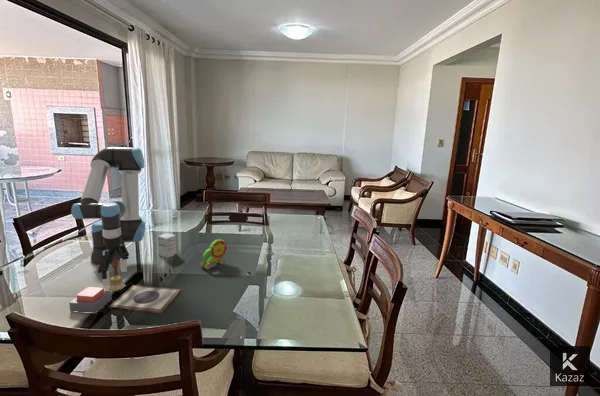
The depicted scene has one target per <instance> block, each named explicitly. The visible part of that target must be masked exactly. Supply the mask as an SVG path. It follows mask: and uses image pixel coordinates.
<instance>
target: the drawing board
mask: <svg viewBox="0 0 600 396" xmlns="http://www.w3.org/2000/svg"><path fill="white" fill-rule="evenodd" d="M181 290H182V289H179V288H169V287H158V286H147V285H139V284H138V285H136V284H132V286H131V287H129V288H128V289H127V290H125V292H124V293H122V294H121V295H120V296H119V297H118V298H116V300H114V301H112V303H111V304H110V305H111V307H119V306H120V307H121V308H122V307H123V308H125V309H129V310H128V311H133V310H134V311H135V312H142V313H144V312H145V313H156V314H163V313H164V312H165V310H166V309H167V308H168V307H169V306H170V304H172V302H173V301H174V299H176V297H177V296H178V295H179V294H180V292H182V291H181ZM168 305H169V306H168Z"/></svg>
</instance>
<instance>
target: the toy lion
mask: <svg viewBox="0 0 600 396" xmlns="http://www.w3.org/2000/svg"><path fill="white" fill-rule="evenodd" d="M227 245H228V244H227V243H226V241H225V240H224V239H220V238H218V239H215V240H214V241H211V243H210V245H209V247H208V248H207V249H206V250H205V251H204V252H203V254H202V256H201V263H200V267H202V268H204V269H205V270H210V269H211V267H212V265H213V264H220V265H225V262H226V258H224V255H225V254H226V252H227V249H228V247H227ZM209 254H210V256H209V258H207V257H208V255H209Z"/></svg>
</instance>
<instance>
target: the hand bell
mask: <svg viewBox="0 0 600 396" xmlns="http://www.w3.org/2000/svg"><path fill="white" fill-rule="evenodd" d="M111 266H112V268H113V276H112V277H110V280H109V281H110V284H109V285H107V287H106V290H107V289H108V290H109V291H118V290H121V289H123V288H124V287H125V286H126V287H127V285H126V284H125V283H124V282H123V280H122V277H121V275H118V274H119V273H118V269H119V261H118V260H117V258H116V257H114V258H113V261H112V264H111ZM123 290H124V289H123ZM121 291H122V290H121ZM118 292H119V291H118Z"/></svg>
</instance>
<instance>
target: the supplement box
mask: <svg viewBox="0 0 600 396" xmlns="http://www.w3.org/2000/svg"><path fill="white" fill-rule="evenodd" d="M157 240H158V241H157V242H158V243H157V244H158V245H157V246H158V255H159V256H161V257H163V258H166V259H168V258H171V257H173V256H176V255H177V235H176V234H173V233H169V232H166V233H162V234H160V235H157ZM175 254H176V255H175Z"/></svg>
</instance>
